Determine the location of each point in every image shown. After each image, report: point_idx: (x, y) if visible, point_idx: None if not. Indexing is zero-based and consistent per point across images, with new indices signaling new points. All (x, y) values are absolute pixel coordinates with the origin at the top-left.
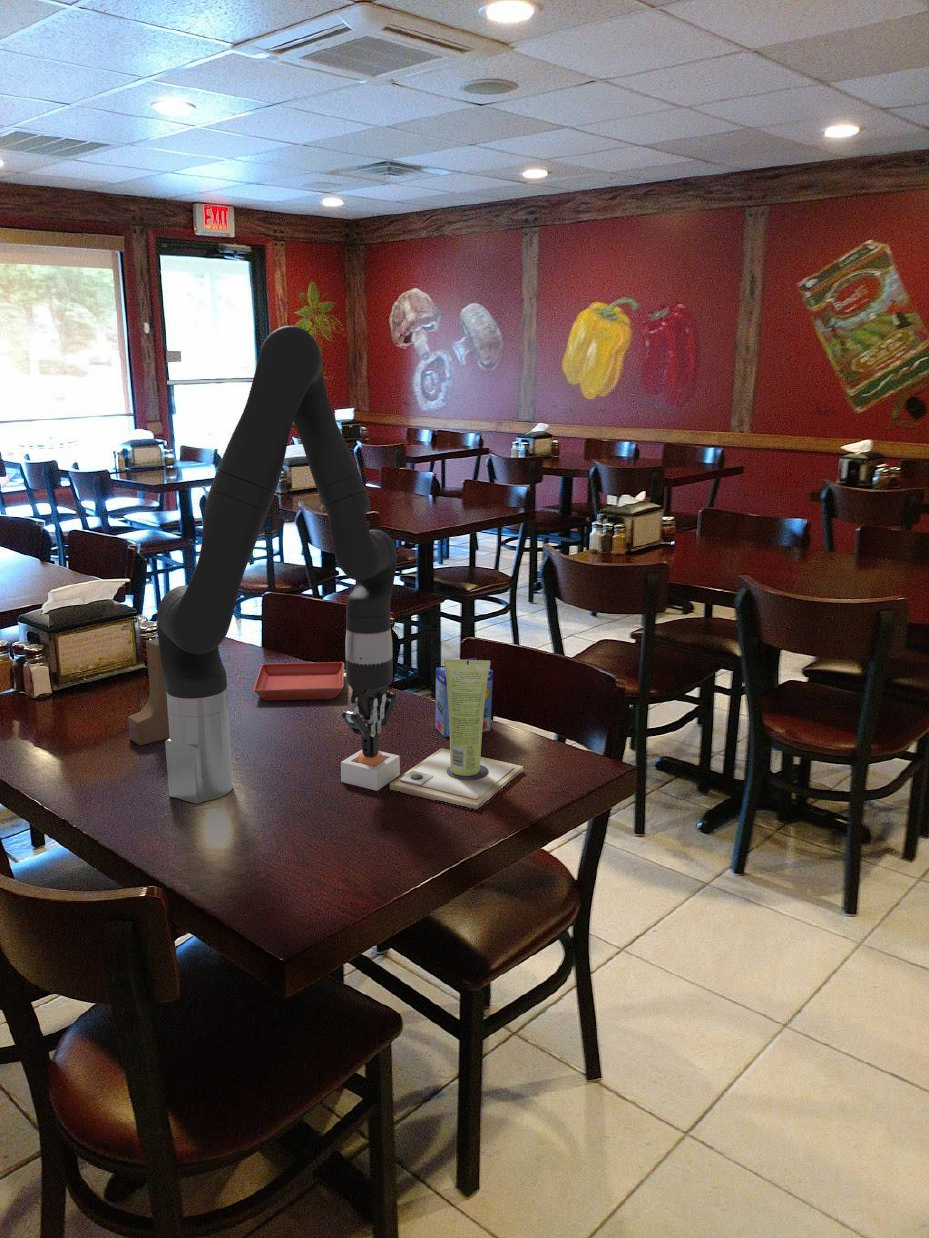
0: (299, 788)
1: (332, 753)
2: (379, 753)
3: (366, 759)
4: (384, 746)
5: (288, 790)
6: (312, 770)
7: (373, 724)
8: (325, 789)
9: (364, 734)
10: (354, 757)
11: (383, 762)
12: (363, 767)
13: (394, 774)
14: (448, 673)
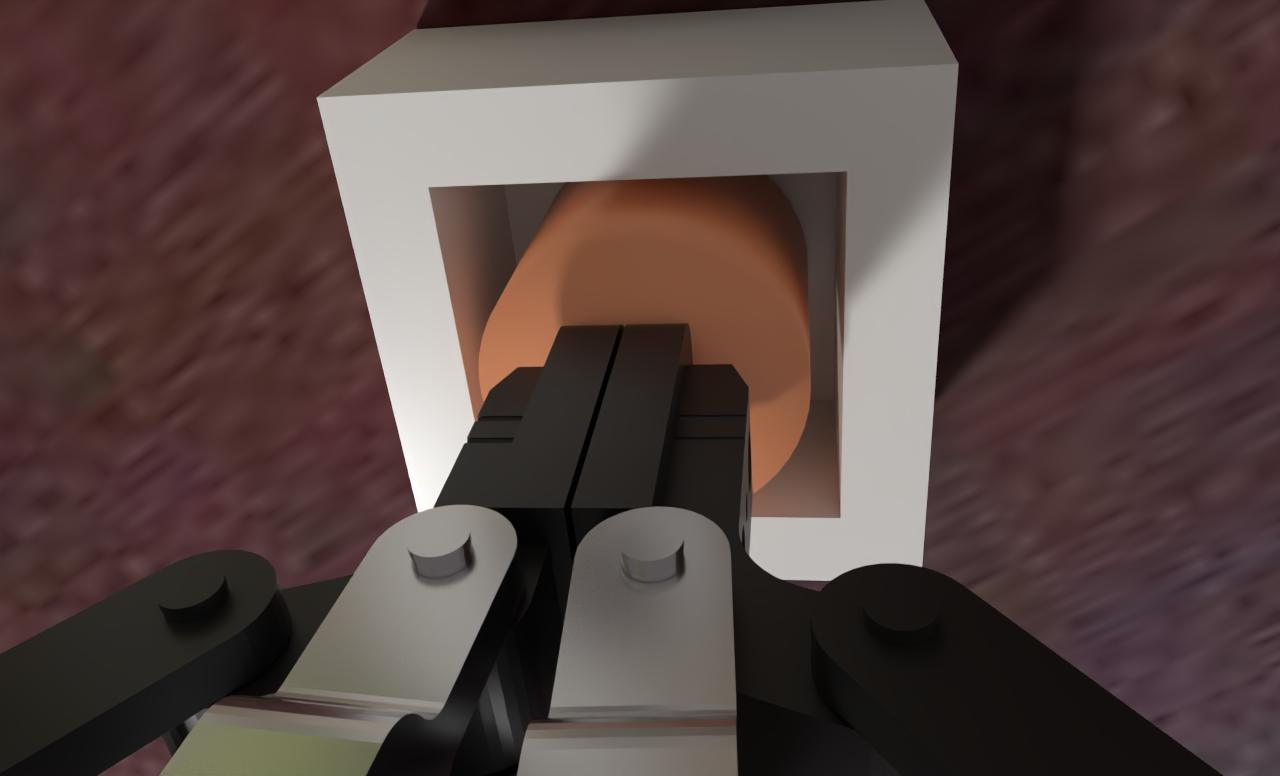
0: (1193, 643)
1: None
2: (521, 325)
3: (788, 360)
4: (62, 518)
5: (1268, 689)
6: None
7: (628, 711)
8: (1123, 467)
9: (1018, 633)
10: None
11: (643, 156)
12: (935, 291)
13: (516, 32)
14: None
